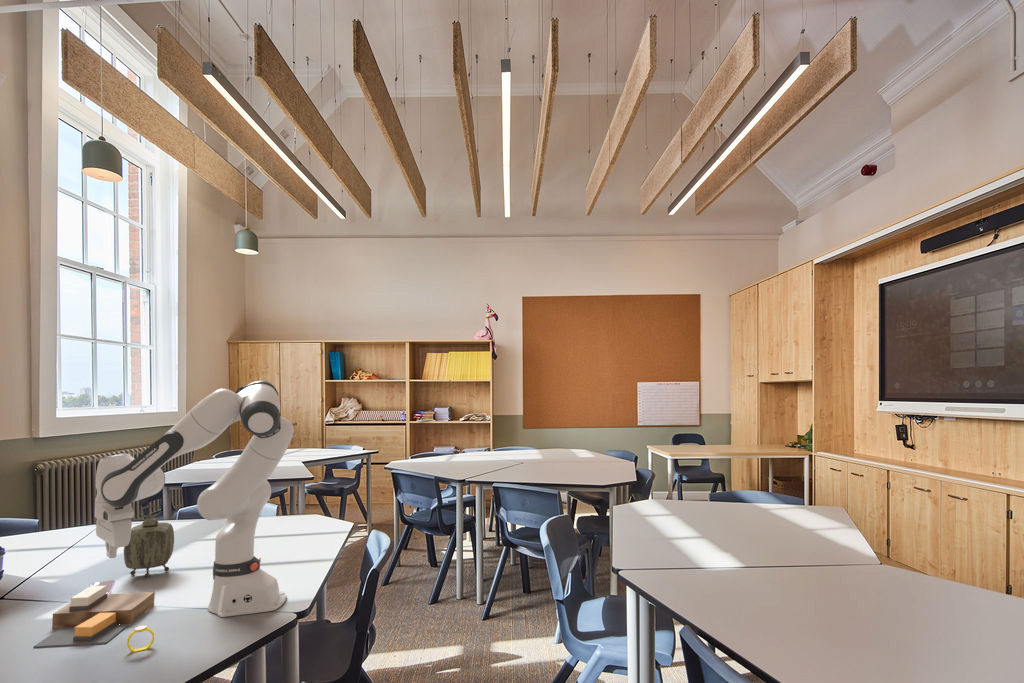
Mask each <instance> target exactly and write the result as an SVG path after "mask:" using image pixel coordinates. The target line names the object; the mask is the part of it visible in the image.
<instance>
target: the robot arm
mask: <svg viewBox="0 0 1024 683" xmlns="http://www.w3.org/2000/svg"><path fill="white" fill-rule="evenodd" d="M239 421H241V424H242V426H243V428H244V429H245V431H247V432H248V433H249V434H251V435H252V437H251V438H250V440H249V441H248V442H247V444H246V446H245V447H244V449H243V451H242V452H241V454H240V455H239V457H238V458H237V459H236V461H235V462H234V463H233V464H232V465H231V467H230V468H228V469H227V471H225V472H224V473H223V474H222V475H221V476H220V477H219V478H218V479H217V480H216V481H215V482H214V483H213V484H212V485H210V486H209V487H207V488H206V489H204V490H203V491H201V493H199V496H198V498H197V501H196V502H197V503H196V506H197V511H198V513H199V515H200V516H201V517H202V518H203V519H204V520H207V521H221V520H225V522H224V524H223V526H222V527H221V529H220V530H219V531H218V533H217V534H216V537H215V548H214V550H215V551H214V553H215V554H214V561H213V565H212V578H213V585H212V592H211V596H210V601H209V604H208V607H207V610H208V611H209V612H210V613H212V614H216V615H217V616H218V617H219V618H224V617H225V618H226V617H227V618H228V617H233V616H241V615H250V614H258V613H267V612H272V611H273V612H274V611H275V610H277V609H279V608H280V607H282V605H283V604H284V603H285V602H286V600H287V594H286V592H285V591H280V588H279V583H278V579H277V578H276V577H274V576H272V575H271V574H269V573H268V572H266V571H265V570H264V569H262V568H261V562H262V557H259V558H257V557H256V556H255V554H254V553H255V552H254V550H255V534H256V528H257V525H258V522H259V518H260V515H261V513H262V510H263V509H264V507H265V506H266V504H267V503H268V501H269V500H270V499H271V496H272V487H271V484H270V482H269V481H268V479H269V478H270V477H271V476H272V475H273V472H274V471H275V469H276V468H277V467H278V464H279V463H280V461H281V459H282V458H283V456H284V455H285V453H286V451H287V449H288V447H289V446H290V443H291V442H292V439H293V436H294V433H295V428H294V426H293V423H292V422H291V421H290V420H289V419H287V418H286V417H284V416H281V402H280V400H279V392H278V390H277V389H276V386H274V385H273V383H271V382H269V381H267V380H255V381H252V382H250V383H248V384H246V385H244V386H240V387H238V388H237V389H236V391H235V392H234V391H232V390H231V389H228V388H218V389H216V390H214V391H213V392H211V393H210V394H208V395H207V396H205V397H204V398H202V399H201V400H200V401H198V402H197V404H195V405H193V407H191V409H190V410H189V411H188V412H187V413H185V415H184V416H183V417H181V418H180V420H178V422H176V423H175V424H174V425H173V426H171V428H170V429H169V430H168V431H166V432H165V433H164V434H163V435H162V436H161V437H159V438H158V439H157V440H156V441H155V442H153V443H152V444H150V446H148V447H147V448H146V449H145V450H144V451H143V452H141V453H140V454H139V455H138V456H136V457H133V455H131V454H130V453H124V452H123V453H117V454H114V455H108V456H105V457H102V458H101V459H100V460H99V462H98V464H97V467H96V474H95V489H96V497H95V499H94V518H95V519H96V525H95V535H96V536H97V538H99V539H101V540H102V541H103V542H104V544H105V545H104V546H105V550H106V557H108V558H109V559H115V558H116V557H117V554H118V553H117V552H118V549H119V548H124V546H128V544H129V542H130V537H131V529H132V528H133V527H132V526H133V524H132V521H133V520H132V519H134V517H135V511H134V509H133V507H132V503H135V502H137V501H141V500H144V499H146V498H149V497H153V496H154V495H157V494H159V493H160V492H161V491H162V490H163V489H164V486H165V483H166V474H165V472H164V471H163V469H162V467H163V466H164V465H166V463H168V462H170V461H171V460H173V459H175V458H177V457H179V456H182V455H185V454H188V453H190V452H195V451H196V450H199V449H202V448H204V447H206V446H207V445H209V444H211V443H212V442H214V441H215V440H216V439H217V438H218V437H219V436H220V435H221V434H223V433H224V432H225V430H227V429H228V427H229V426H231V425H233V424H234V423H237V422H239Z"/></svg>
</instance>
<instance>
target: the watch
mask: <svg viewBox="0 0 1024 683" xmlns="http://www.w3.org/2000/svg"><path fill="white" fill-rule="evenodd" d="M145 631H146V632H149V633H150V634H151V635H152V637H151V638H152V639H151V641H150V643H149V644H148V645H146V646H144V647H140V648H133V647H131V645H130V640H131V638H132V637H133V636H134V635H135V634H137V633H142V632H145ZM154 641H155V633H154V631H153V629H152V628H149V627H148V626H147V625H144V624H143V625H139V626H136V627H134V630H133V631H131V632H130V634H129V636H128V637H127V640H126V646H127V649H128V651H131V652H132V653H134V654H135V653H138V652H143V651H146V650H149V649H150V648H151V647H152V645H153V644H154Z"/></svg>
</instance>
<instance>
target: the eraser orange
mask: <svg viewBox="0 0 1024 683" xmlns="http://www.w3.org/2000/svg"><path fill="white" fill-rule="evenodd" d="M116 625H117V621H116V613H99V614H97V615H95V616H94V617H92V618H90V619H88V620H87V621H85V622H83V623H81V624H80V625H78V626H76V627H75V636H74V637H73V641H92V640H94V639H96V638H97V637H99V636H100V635H102V634H104V633H105V632H107V631H108V630H110V629H112V628H113V627H115V626H116Z"/></svg>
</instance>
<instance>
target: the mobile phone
mask: <svg viewBox="0 0 1024 683" xmlns="http://www.w3.org/2000/svg"><path fill="white" fill-rule="evenodd" d="M115 583H116V580H106V581H97V582H92V583H89V585H88V586H87V588H88V587H90V586H105V585H107V592H106V593H107V594H112V593H111V592H112V590H113V588H114V587H115V585H116V584H115Z"/></svg>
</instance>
